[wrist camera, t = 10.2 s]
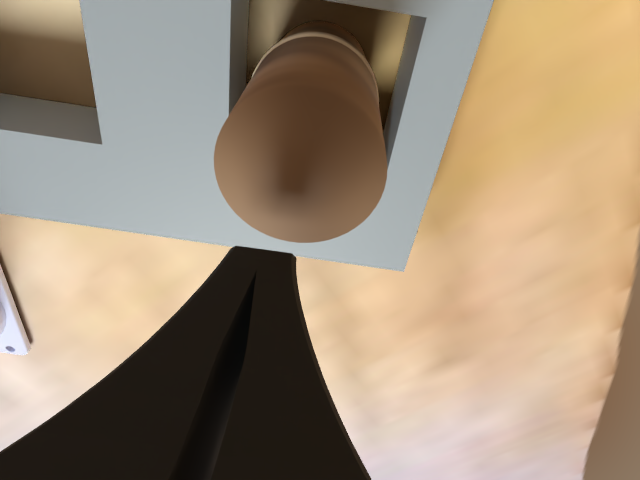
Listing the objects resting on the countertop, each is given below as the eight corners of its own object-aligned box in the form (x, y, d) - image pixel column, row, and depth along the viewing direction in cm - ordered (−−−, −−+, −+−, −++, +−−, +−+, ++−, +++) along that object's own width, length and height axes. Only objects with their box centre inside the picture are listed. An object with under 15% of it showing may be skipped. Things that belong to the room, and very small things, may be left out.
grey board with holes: (-20, 167, 20) (-71, 203, 18) (-166, -252, 12) (-292, -293, 10) (397, 229, 21) (403, 271, 18) (505, -131, 13) (540, -141, 11)
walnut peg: (259, 115, 18) (209, 229, 11) (271, 2, 15) (214, 65, 9) (360, 134, 18) (366, 256, 12) (386, 26, 16) (412, 104, 9)
